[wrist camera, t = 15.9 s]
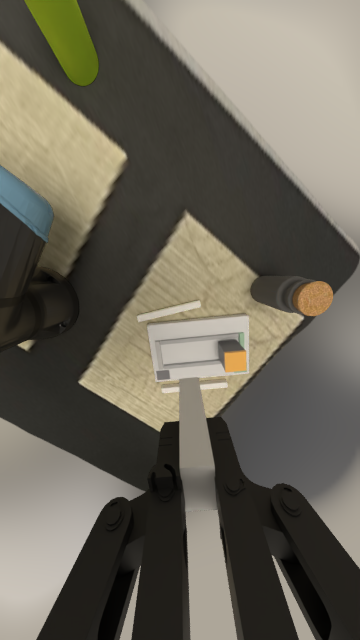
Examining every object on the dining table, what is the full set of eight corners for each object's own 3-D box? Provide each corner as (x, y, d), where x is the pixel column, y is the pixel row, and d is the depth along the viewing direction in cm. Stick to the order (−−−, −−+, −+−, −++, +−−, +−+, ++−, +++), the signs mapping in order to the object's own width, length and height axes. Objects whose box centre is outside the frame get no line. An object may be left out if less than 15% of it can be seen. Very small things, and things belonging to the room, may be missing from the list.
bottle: (277, 301, 39) (335, 317, 24) (250, 304, 39) (292, 322, 24) (277, 273, 37) (340, 274, 23) (250, 277, 37) (295, 279, 23)
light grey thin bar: (139, 320, 40) (138, 322, 38) (138, 314, 39) (136, 316, 38) (200, 305, 39) (201, 307, 38) (199, 299, 39) (199, 300, 37)
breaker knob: (218, 357, 40) (225, 372, 34) (217, 341, 38) (224, 353, 33) (236, 356, 39) (246, 370, 34) (236, 339, 38) (246, 351, 33)
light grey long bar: (162, 389, 44) (162, 393, 43) (162, 384, 44) (161, 388, 43) (225, 383, 44) (227, 387, 43) (225, 378, 44) (227, 382, 42)
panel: (156, 377, 44) (155, 384, 41) (148, 323, 40) (146, 326, 37) (245, 368, 43) (250, 375, 40) (245, 313, 39) (250, 316, 37)
